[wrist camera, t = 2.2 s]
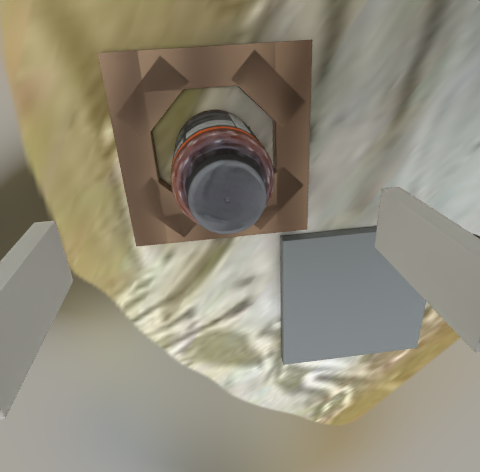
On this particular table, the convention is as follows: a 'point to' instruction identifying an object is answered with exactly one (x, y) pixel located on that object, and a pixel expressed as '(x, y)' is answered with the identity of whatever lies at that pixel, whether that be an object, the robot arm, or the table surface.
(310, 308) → the slate pad
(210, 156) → the supplement bottle
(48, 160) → the table surface
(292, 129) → the socket board
